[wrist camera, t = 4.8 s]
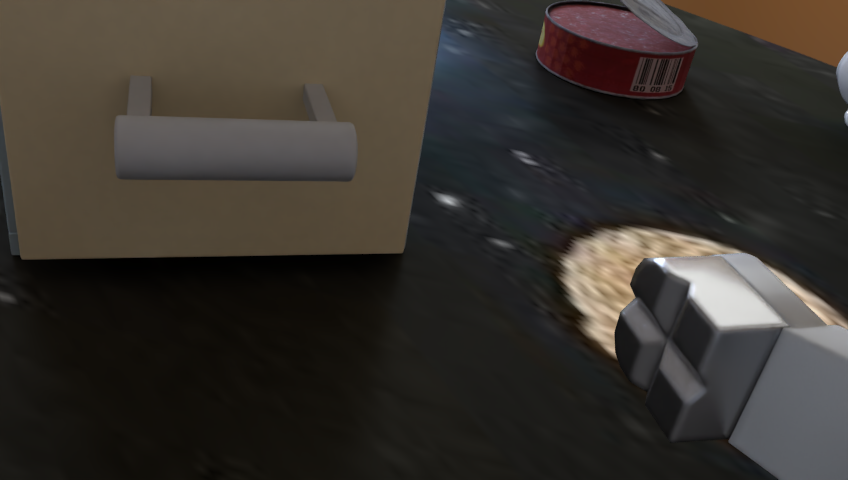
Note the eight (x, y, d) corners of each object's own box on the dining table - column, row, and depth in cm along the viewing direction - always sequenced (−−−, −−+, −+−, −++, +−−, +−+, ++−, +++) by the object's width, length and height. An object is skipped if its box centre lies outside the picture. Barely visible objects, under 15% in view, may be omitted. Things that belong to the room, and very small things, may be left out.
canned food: (576, 102, 61) (644, -22, 59) (683, 148, 53) (763, 8, 52) (479, 39, 53) (554, -105, 51) (589, 82, 46) (680, -84, 44)
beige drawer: (439, 339, 26) (502, 35, 20) (-6, 362, 22) (-66, -4, 17) (336, 92, 41) (358, -118, 36) (66, 80, 37) (46, -155, 32)
